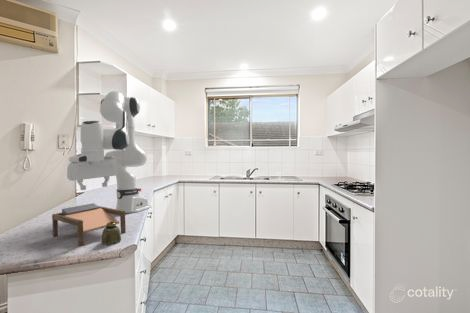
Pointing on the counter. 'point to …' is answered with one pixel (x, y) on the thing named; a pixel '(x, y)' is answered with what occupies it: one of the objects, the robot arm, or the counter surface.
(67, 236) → the counter surface
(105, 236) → the bronze rounded piece
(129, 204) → the robot arm
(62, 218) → the frame
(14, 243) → the counter surface
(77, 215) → the trapdoor
